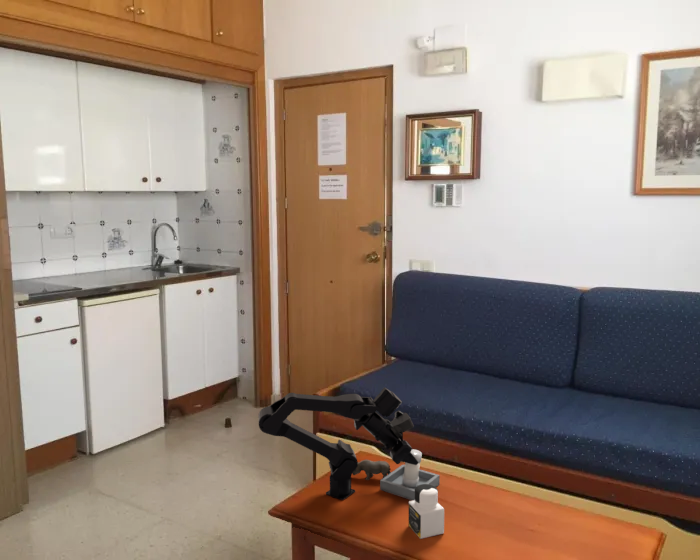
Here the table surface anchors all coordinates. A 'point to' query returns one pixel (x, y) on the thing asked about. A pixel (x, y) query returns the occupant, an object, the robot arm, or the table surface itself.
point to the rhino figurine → (372, 468)
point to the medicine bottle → (426, 512)
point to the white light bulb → (412, 471)
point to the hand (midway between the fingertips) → (414, 459)
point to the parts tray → (395, 486)
